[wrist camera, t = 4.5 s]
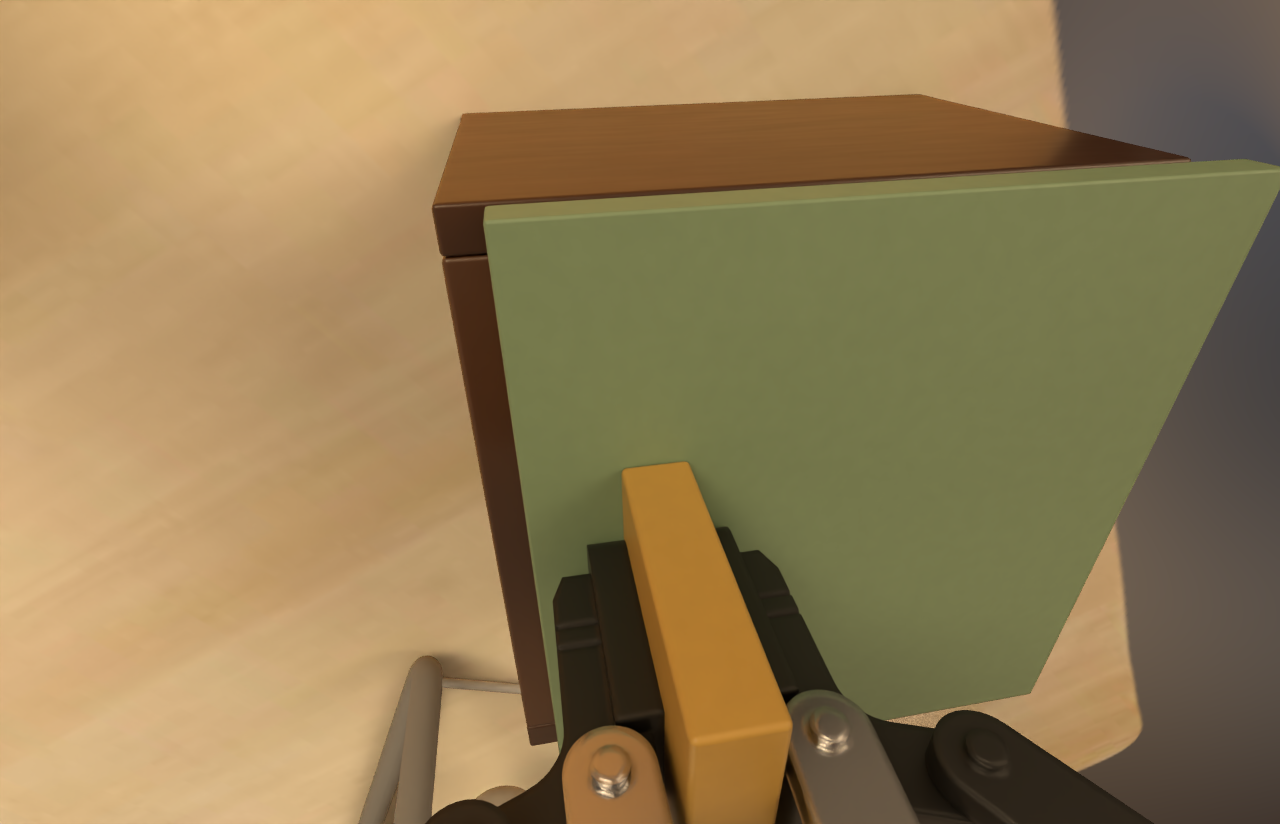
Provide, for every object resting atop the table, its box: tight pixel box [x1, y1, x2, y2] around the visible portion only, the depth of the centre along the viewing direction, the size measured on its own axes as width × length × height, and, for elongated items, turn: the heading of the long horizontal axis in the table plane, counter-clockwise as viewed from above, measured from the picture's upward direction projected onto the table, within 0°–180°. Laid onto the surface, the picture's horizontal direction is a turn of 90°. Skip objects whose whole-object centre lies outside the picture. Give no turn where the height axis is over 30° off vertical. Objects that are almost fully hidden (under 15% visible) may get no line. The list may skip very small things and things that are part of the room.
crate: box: [432, 94, 1191, 746], centre depth 18 cm, size 14×13×9 cm
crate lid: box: [483, 159, 1280, 824], centre depth 11 cm, size 14×13×6 cm
